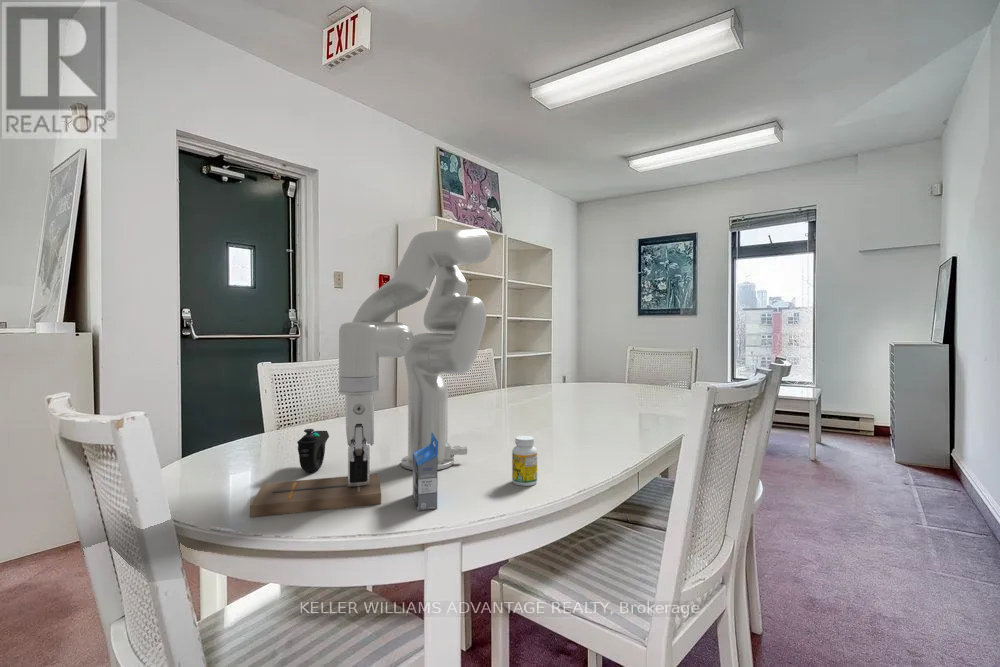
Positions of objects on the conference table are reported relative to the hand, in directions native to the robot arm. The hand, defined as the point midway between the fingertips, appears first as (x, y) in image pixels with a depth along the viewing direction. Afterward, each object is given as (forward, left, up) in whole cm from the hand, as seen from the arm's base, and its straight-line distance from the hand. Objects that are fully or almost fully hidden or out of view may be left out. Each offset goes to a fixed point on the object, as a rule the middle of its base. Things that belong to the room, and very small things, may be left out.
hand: (358, 475), depth 91 cm
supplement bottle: (-34, +2, -4) cm, 34 cm away
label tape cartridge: (-12, +7, -4) cm, 15 cm away
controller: (+10, -20, -4) cm, 23 cm away
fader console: (+7, 0, -4) cm, 8 cm away
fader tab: (0, 0, -2) cm, 2 cm away
